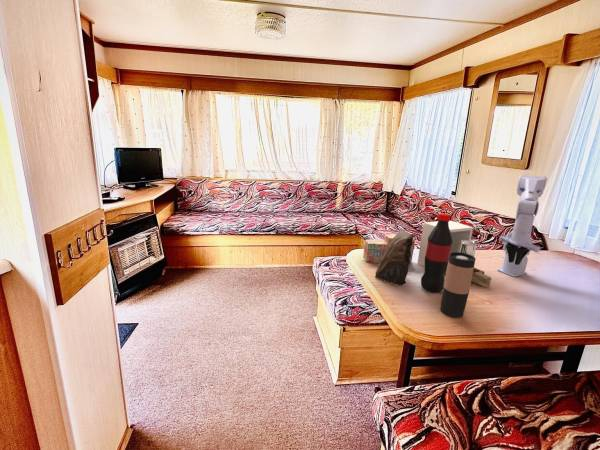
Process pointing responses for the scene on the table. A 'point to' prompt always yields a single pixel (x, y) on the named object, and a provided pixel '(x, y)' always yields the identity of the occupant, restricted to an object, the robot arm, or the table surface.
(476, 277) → the wooden post with crossbar
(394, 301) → the table surface
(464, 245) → the metal cup
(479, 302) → the table surface
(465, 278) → the travel mug
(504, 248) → the robot arm
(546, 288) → the table surface
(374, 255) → the stack of blocks
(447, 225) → the cola bottle
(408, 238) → the owl
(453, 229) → the tall white box
